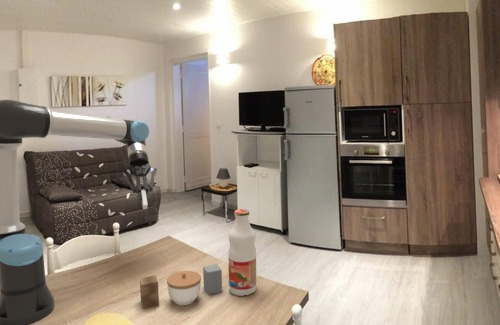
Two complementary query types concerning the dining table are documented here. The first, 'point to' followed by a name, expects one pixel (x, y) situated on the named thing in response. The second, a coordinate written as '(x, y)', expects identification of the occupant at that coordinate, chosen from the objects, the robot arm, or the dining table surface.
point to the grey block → (212, 279)
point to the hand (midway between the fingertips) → (145, 206)
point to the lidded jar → (184, 287)
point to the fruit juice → (242, 255)
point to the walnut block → (149, 292)
